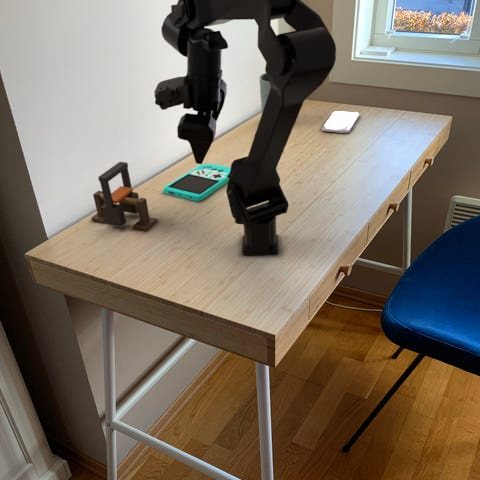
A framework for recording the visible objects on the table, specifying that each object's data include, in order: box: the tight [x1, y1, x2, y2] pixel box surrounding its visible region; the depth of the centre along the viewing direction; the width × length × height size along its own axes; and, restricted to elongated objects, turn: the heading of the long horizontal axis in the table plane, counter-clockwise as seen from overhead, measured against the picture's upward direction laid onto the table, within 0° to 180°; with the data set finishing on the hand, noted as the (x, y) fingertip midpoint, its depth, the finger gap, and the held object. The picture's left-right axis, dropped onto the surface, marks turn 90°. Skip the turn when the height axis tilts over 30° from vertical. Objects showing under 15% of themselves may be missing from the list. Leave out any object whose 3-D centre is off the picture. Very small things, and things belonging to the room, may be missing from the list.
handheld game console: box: [163, 163, 231, 202], centre depth 118 cm, size 10×16×1 cm, turn 148°
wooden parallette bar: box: [91, 190, 158, 232], centre depth 104 cm, size 13×4×6 cm, turn 66°
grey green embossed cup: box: [259, 72, 271, 114], centre depth 145 cm, size 10×10×12 cm
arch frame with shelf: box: [97, 161, 140, 227], centre depth 102 cm, size 7×4×10 cm, turn 156°
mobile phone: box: [321, 111, 360, 134], centre depth 144 cm, size 8×1×15 cm
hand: (202, 150), depth 102 cm, fingers open, 9 cm apart
